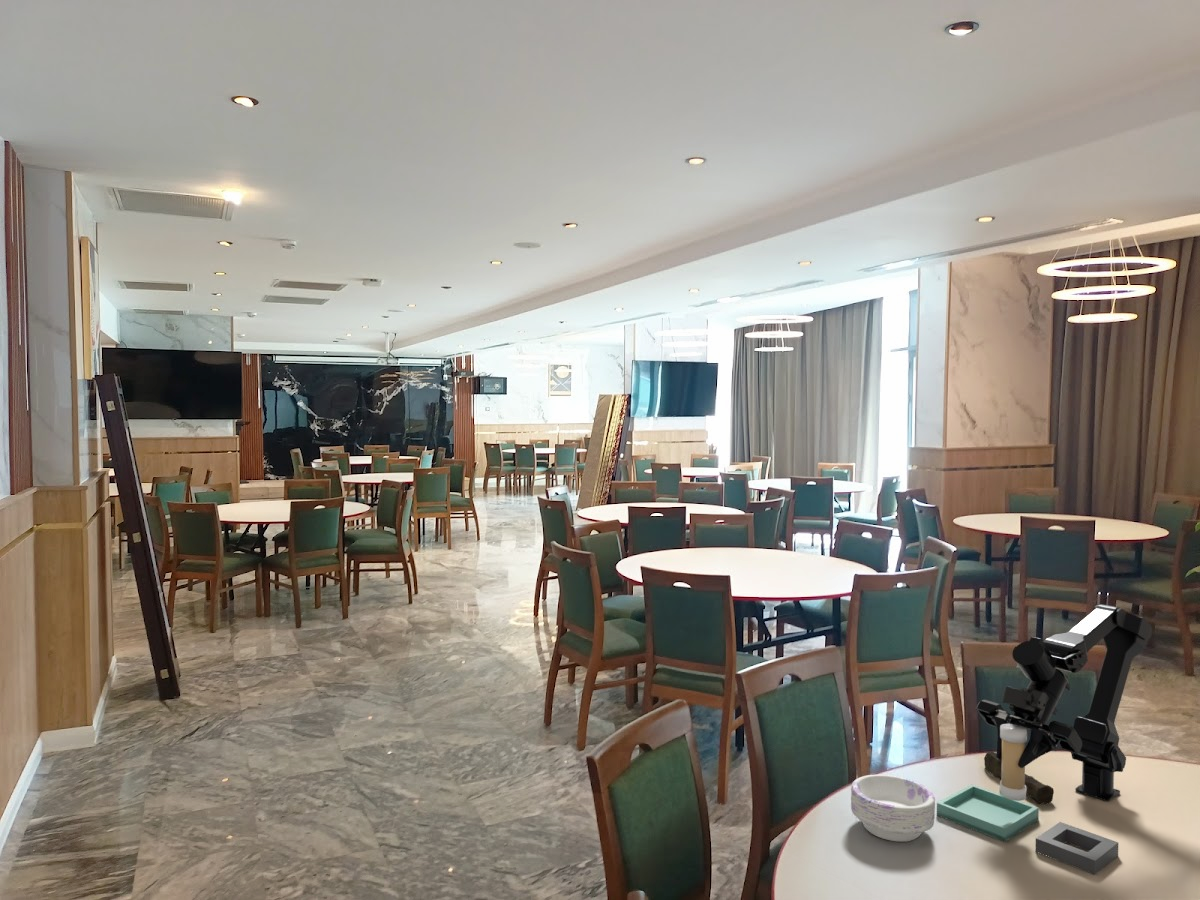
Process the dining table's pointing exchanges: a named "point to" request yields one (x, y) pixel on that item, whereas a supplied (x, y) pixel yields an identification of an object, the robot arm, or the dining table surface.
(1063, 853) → the frame
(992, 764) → the dark brown rod
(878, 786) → the paper bowls
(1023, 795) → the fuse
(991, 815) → the parts tray
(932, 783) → the dining table surface
